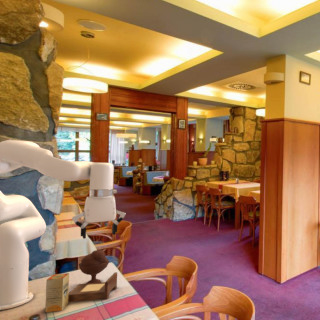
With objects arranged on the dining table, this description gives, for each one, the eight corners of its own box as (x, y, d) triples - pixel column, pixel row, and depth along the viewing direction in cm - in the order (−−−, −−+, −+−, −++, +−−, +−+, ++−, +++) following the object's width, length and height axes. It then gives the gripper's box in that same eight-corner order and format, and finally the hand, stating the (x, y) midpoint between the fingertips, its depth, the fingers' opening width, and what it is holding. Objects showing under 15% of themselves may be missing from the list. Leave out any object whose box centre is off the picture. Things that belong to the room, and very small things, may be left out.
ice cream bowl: (105, 276, 136) (106, 245, 136) (110, 283, 129) (111, 250, 129) (76, 282, 129) (77, 249, 129) (80, 291, 121) (81, 256, 121)
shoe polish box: (68, 303, 111) (69, 273, 111) (62, 310, 106) (63, 278, 106) (52, 305, 109) (53, 274, 109) (45, 312, 104) (46, 279, 104)
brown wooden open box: (66, 302, 112) (66, 284, 112) (79, 290, 121) (79, 274, 121) (107, 299, 115) (107, 281, 115) (116, 288, 125) (117, 272, 125)
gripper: (124, 191, 123) (122, 230, 123) (72, 193, 110) (70, 237, 111) (128, 193, 117) (126, 234, 117) (74, 195, 105) (72, 241, 105)
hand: (99, 235), depth 114 cm, fingers open, 9 cm apart
